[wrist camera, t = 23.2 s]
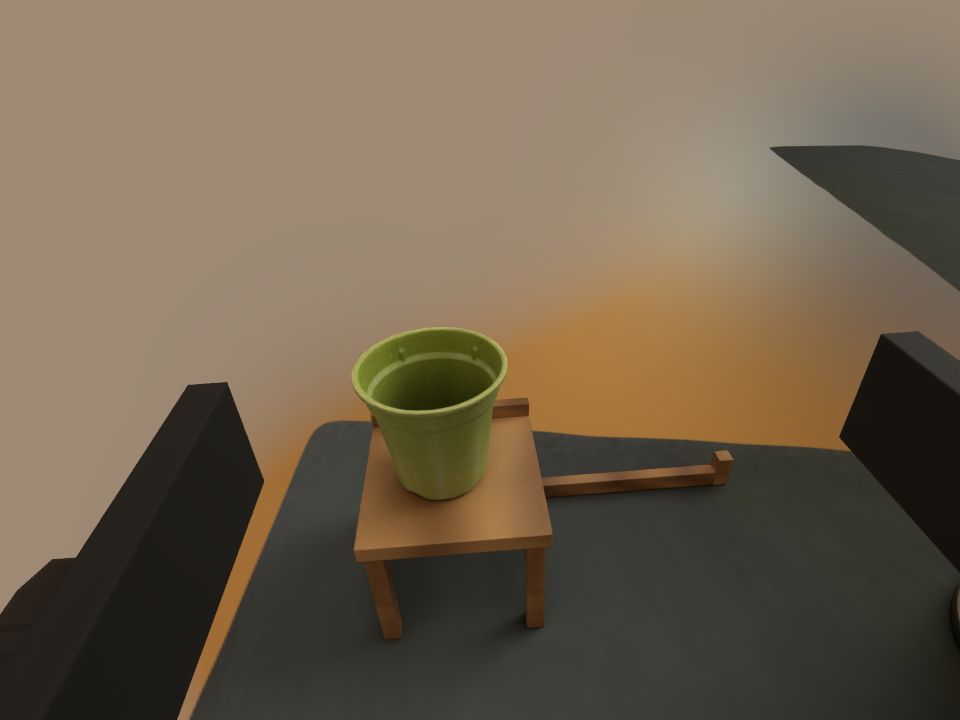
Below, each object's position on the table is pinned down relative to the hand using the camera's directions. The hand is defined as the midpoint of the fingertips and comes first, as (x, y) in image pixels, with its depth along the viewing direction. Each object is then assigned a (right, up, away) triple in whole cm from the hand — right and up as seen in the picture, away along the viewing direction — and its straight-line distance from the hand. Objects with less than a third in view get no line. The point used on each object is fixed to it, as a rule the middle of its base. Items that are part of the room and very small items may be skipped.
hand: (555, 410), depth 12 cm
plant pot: (-4, -7, +27) cm, 28 cm away
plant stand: (+5, -14, +32) cm, 36 cm away
